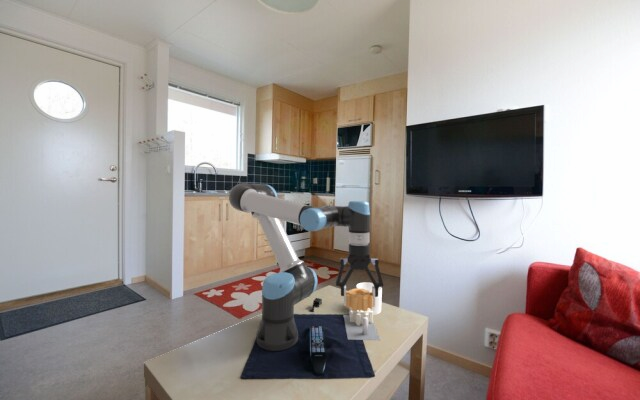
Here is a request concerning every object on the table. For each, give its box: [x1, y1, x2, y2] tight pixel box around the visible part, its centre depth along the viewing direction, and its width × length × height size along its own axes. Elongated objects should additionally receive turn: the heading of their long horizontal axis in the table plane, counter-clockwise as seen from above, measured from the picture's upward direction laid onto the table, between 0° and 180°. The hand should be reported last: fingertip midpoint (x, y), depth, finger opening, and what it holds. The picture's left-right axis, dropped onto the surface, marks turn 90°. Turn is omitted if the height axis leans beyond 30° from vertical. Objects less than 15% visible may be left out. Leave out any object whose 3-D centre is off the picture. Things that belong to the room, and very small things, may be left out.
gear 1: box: [345, 288, 373, 311], centre depth 98 cm, size 10×10×5 cm
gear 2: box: [348, 308, 374, 326], centre depth 113 cm, size 10×10×5 cm
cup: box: [355, 281, 383, 316], centre depth 124 cm, size 12×12×12 cm
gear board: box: [343, 314, 381, 341], centre depth 108 cm, size 12×19×8 cm, turn 0°
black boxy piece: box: [308, 297, 323, 313], centre depth 127 cm, size 12×7×5 cm, turn 160°
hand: (359, 304), depth 98 cm, fingers closed on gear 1, 10 cm apart
